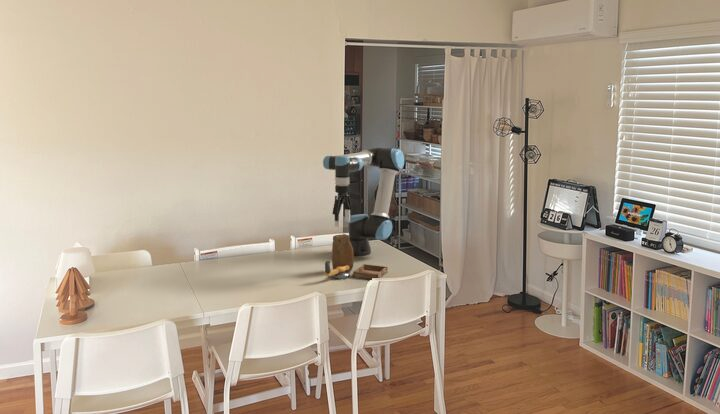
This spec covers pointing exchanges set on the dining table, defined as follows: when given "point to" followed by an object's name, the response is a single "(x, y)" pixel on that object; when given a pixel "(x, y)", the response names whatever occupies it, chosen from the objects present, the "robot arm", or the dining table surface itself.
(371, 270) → the tray
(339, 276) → the crank base
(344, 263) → the block
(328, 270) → the crank
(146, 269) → the dining table surface
